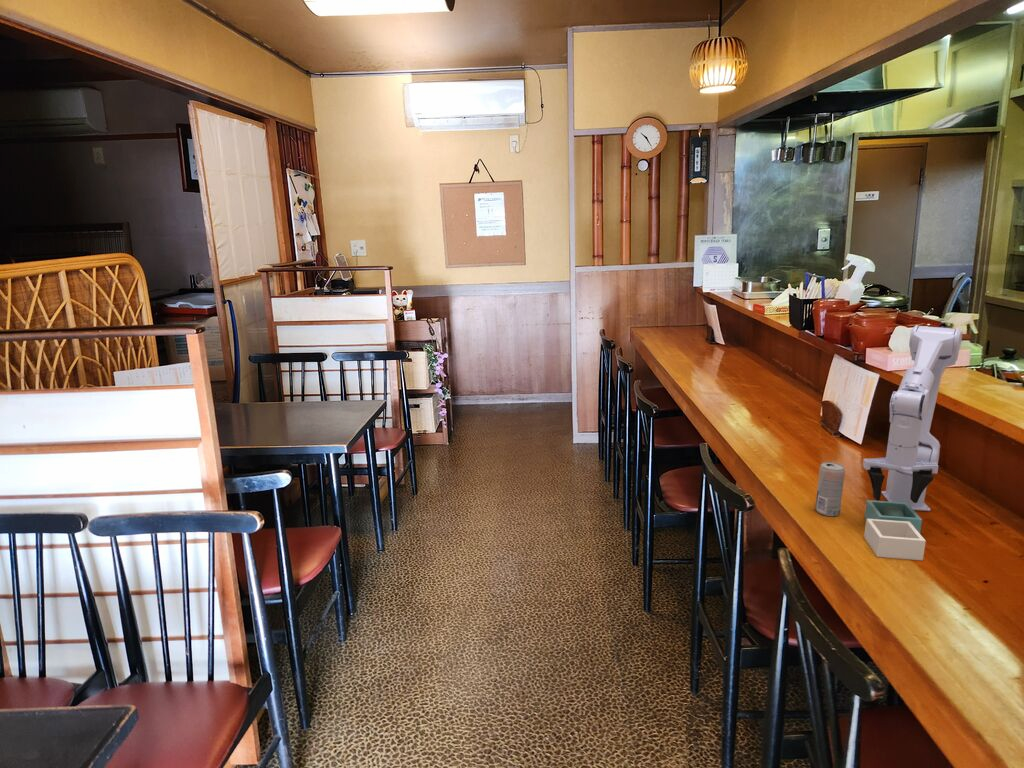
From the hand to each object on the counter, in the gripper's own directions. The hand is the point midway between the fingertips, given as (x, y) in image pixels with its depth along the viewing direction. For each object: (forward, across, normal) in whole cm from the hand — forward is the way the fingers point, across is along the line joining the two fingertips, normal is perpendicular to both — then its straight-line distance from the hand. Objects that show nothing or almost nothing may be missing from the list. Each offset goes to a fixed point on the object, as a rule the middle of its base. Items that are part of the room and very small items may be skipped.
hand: (894, 499), depth 141 cm
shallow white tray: (+7, -3, -10) cm, 13 cm away
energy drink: (+7, -12, +6) cm, 15 cm away
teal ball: (+4, 0, 0) cm, 4 cm away
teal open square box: (+7, 0, 0) cm, 7 cm away
